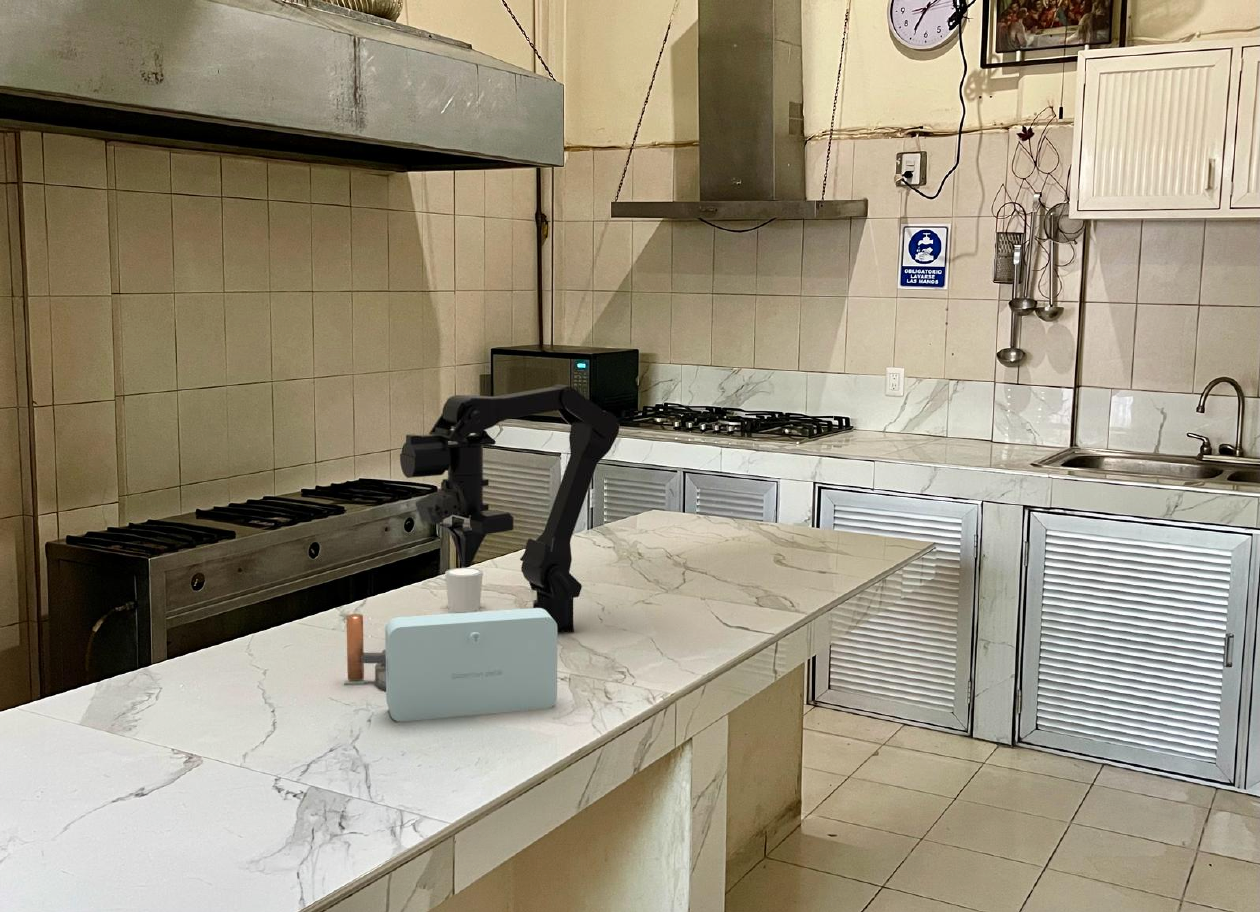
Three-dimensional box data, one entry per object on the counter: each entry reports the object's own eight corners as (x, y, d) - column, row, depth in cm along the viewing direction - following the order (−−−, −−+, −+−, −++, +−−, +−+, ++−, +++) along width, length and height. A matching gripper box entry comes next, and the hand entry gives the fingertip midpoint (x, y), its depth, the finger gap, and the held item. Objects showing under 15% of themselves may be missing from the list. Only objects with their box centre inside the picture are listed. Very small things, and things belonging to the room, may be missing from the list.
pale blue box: (390, 725, 163) (389, 629, 162) (386, 710, 169) (385, 618, 167) (558, 709, 170) (558, 617, 168) (548, 696, 176) (549, 607, 174)
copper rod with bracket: (394, 675, 182) (393, 614, 181) (391, 680, 180) (390, 618, 178) (349, 675, 182) (348, 613, 181) (346, 680, 180) (344, 618, 178)
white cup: (476, 614, 218) (475, 576, 217) (439, 612, 219) (439, 574, 218) (487, 605, 225) (487, 568, 224) (452, 602, 226) (452, 566, 225)
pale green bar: (365, 682, 180) (365, 680, 180) (364, 684, 180) (364, 682, 180) (344, 683, 180) (344, 681, 180) (344, 684, 179) (344, 682, 179)
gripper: (391, 470, 198) (392, 564, 200) (457, 485, 184) (458, 585, 186) (448, 464, 205) (448, 554, 207) (515, 478, 192) (515, 574, 194)
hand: (465, 566), depth 199 cm, fingers closed
